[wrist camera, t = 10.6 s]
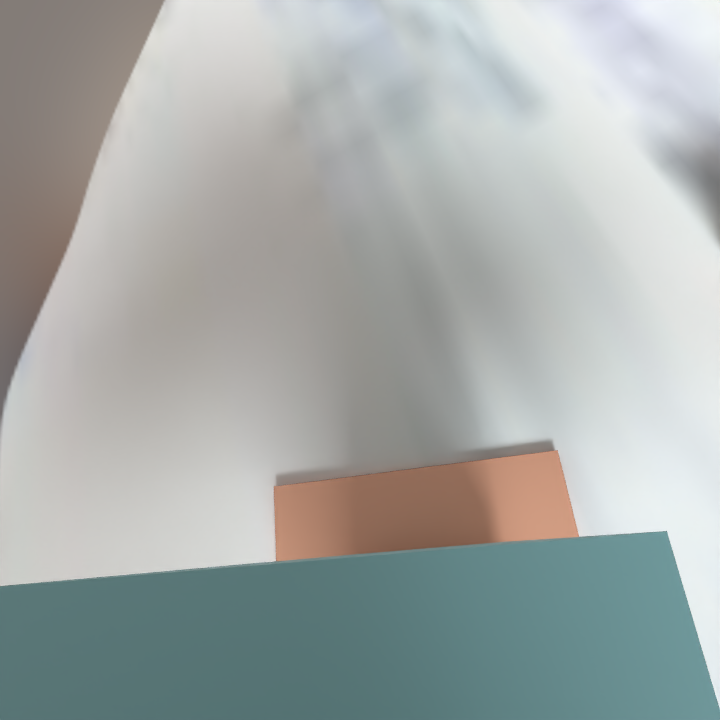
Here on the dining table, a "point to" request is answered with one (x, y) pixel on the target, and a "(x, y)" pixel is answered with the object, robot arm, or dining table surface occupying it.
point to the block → (367, 638)
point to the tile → (425, 508)
